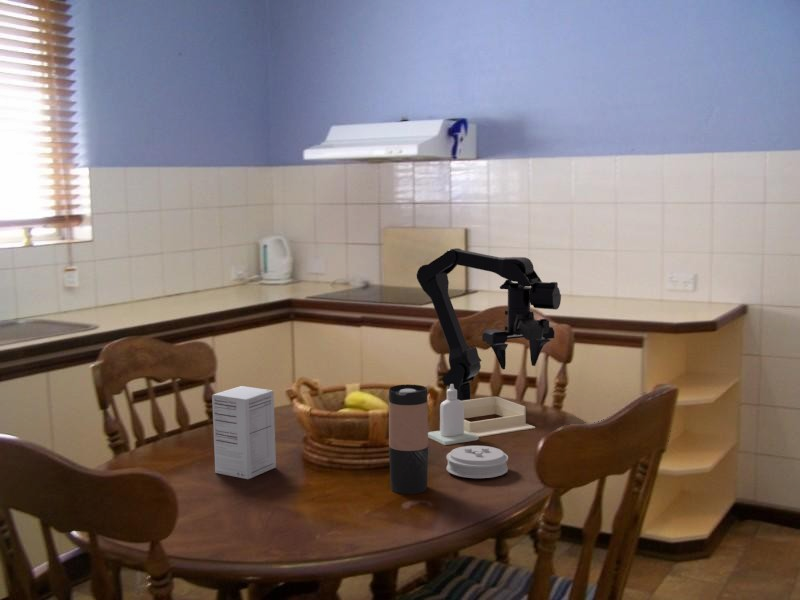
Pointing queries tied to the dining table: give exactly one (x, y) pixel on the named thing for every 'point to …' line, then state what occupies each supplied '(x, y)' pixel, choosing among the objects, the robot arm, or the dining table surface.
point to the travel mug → (408, 438)
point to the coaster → (452, 438)
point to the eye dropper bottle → (451, 414)
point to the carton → (508, 422)
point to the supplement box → (244, 431)
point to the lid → (477, 462)
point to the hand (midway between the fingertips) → (518, 367)
